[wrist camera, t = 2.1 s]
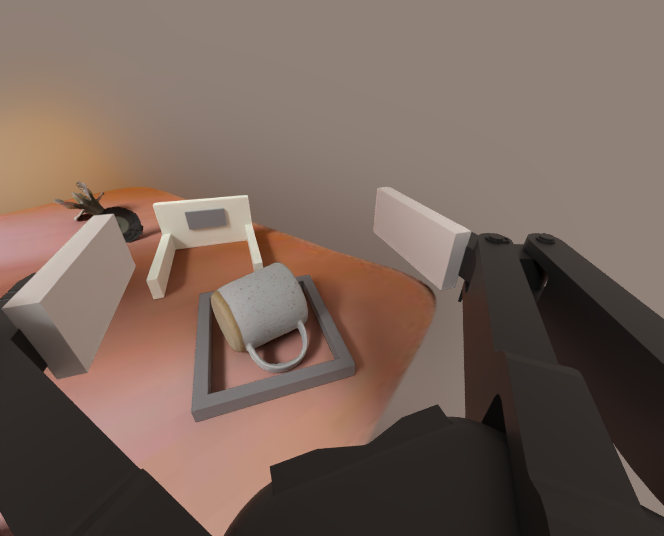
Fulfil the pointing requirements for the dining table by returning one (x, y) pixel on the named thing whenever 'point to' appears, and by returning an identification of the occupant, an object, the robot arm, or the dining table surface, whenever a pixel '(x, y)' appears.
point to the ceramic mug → (262, 312)
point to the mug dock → (199, 232)
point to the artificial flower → (106, 212)
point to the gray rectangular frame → (267, 388)
